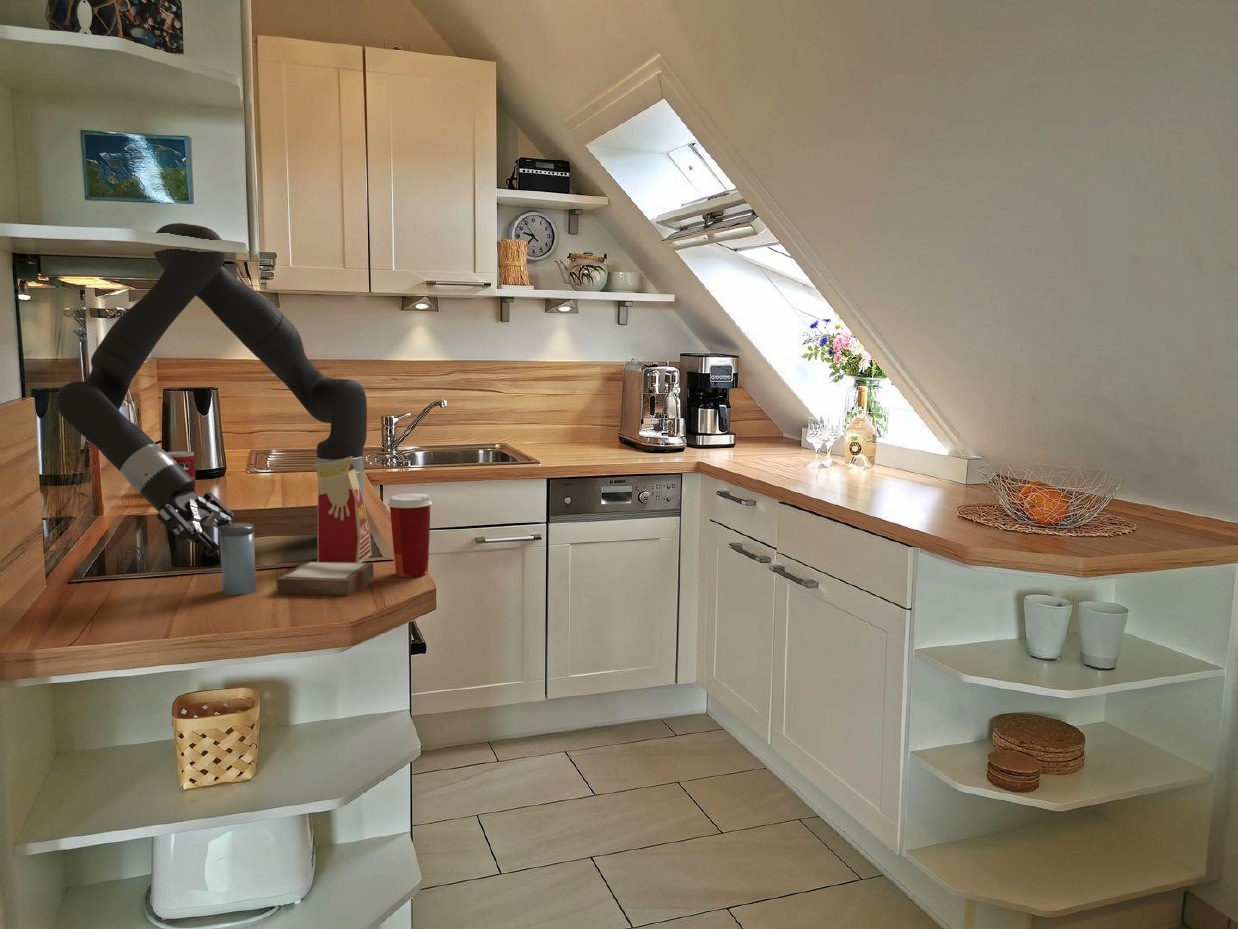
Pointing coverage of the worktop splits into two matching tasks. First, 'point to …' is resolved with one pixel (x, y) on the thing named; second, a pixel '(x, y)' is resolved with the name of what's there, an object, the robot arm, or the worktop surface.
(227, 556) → the spice jar
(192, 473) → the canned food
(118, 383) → the robot arm
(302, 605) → the worktop surface
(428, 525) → the paper cup
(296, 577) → the board
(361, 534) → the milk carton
